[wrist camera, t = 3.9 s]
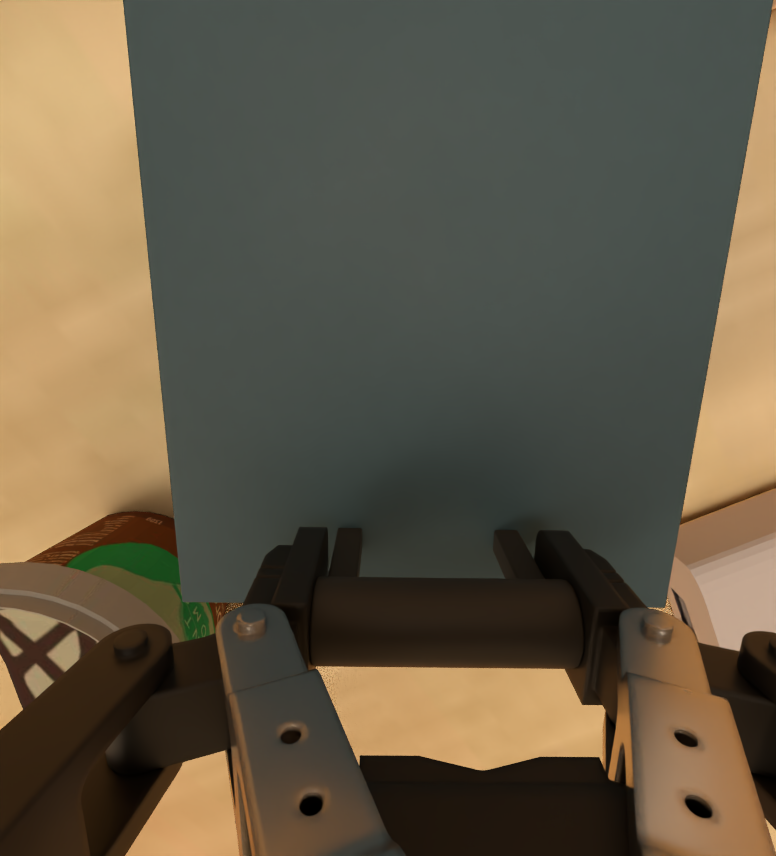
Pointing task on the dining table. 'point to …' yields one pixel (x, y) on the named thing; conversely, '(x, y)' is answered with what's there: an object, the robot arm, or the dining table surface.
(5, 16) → the dining table surface
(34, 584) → the food container
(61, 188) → the dining table surface
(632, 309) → the lid
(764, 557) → the charger
